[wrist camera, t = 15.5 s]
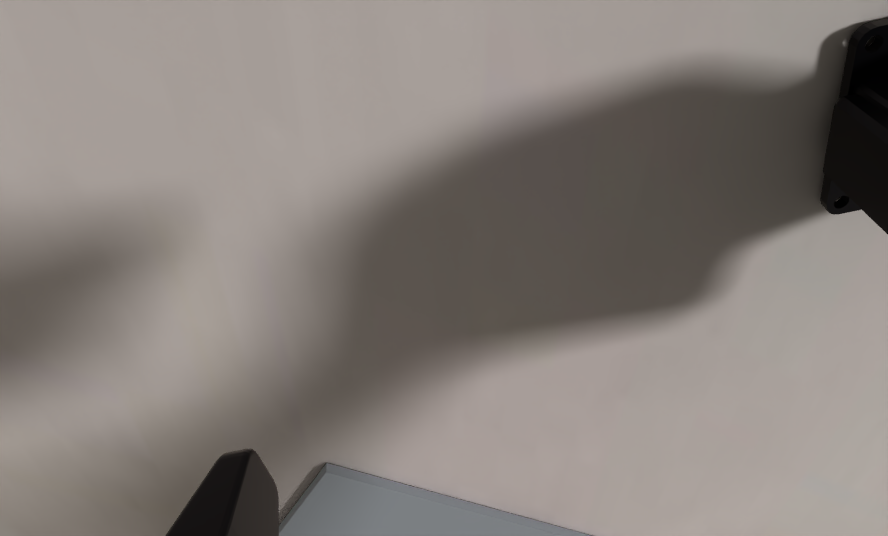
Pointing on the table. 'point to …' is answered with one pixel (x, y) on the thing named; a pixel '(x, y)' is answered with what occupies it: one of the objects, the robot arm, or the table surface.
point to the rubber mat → (397, 511)
